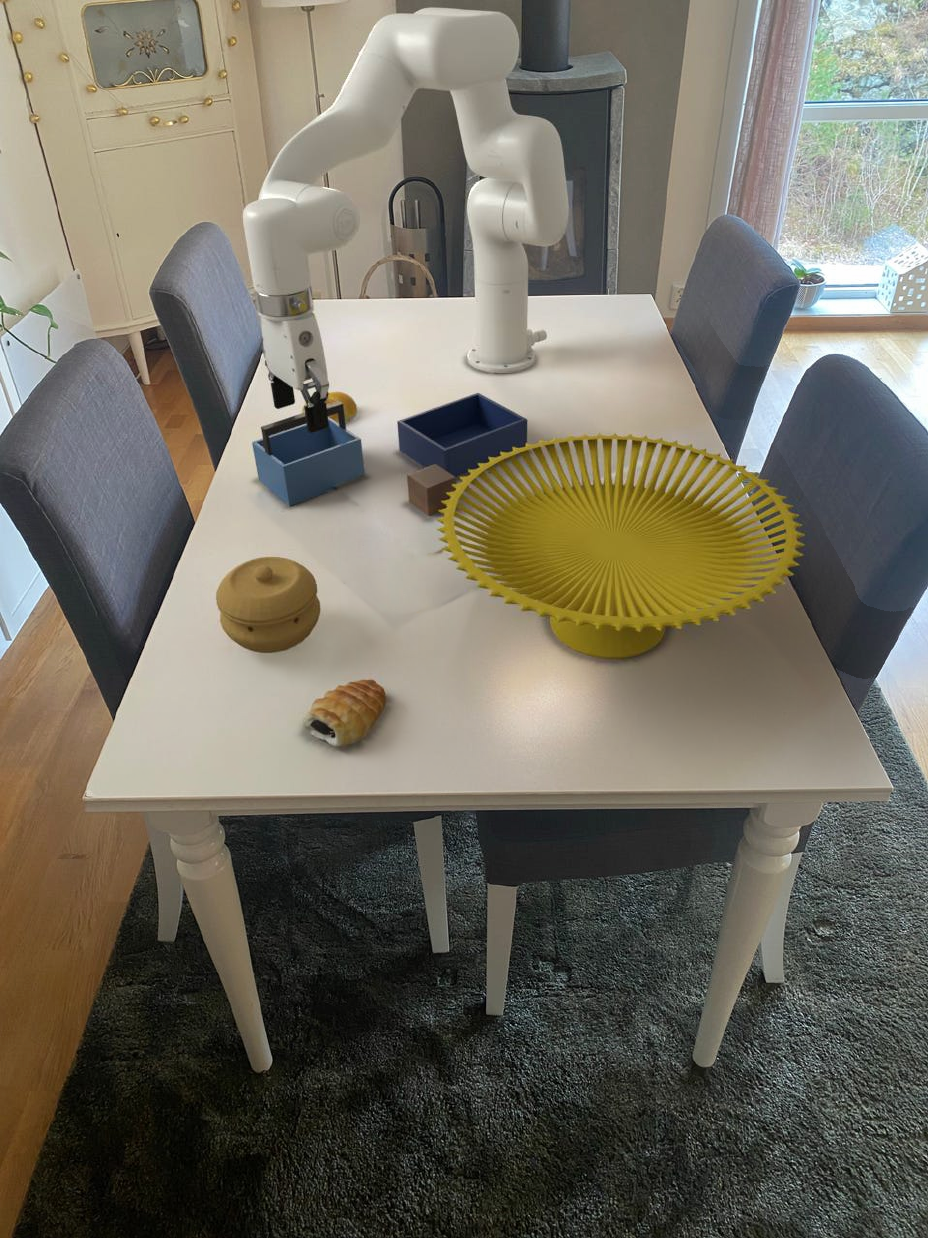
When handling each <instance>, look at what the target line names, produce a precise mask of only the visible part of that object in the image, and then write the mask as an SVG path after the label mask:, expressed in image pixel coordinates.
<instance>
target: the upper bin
mask: <svg viewBox="0 0 928 1238" xmlns="http://www.w3.org/2000/svg"><path fill="white" fill-rule="evenodd" d="M326 406H327V414H328V416H330V415H333V414H336V413H338V419H339V424H338V423H337V422H335V421H334V420H332V419H331V418H329V417H328V422H329V426H328V427H327V428H325V429H322V430H319V431H316V432H313V433H310V432H308V430H307V424H306V417H305V412H304V413H302V412H301V413H299V414H295V415H293V416H289V417H286V418H283V419H281V420H278V421H274V422H272V423H268V424H265V425H262V426H260V431H261V436H262V438H260V439H257V440H254V441H252V442H251V444H252V451H253V457H254V461H255V466H256V472H257V477H258V481H259V482H261V484H263V485H264V486H265V487H266V488H267V489H268V490H270V491H271V492H272V493H273V494H274V495H276V496H277V497H278V498H279V499H280V500H282V501H283V502H284V503H285V504H286V505H288V506H289V507H291V506H294V505H296V504H299V503H301V502H304V501H307V500H310V499H312V498H315V497H317V496H320V495H323V494H326V493H327V492H330V491H332V490H336V489H338V487H337V486H338V485H341V484H344V483H346V482H348V481H351V480H354V479H356V478H359V477H361V476H362V477H363V476H364V475H365V473H366V472H365V463H364V455H363V445H362V439H361V437H359V436H358V435H356V434H355V433H353V432H352V431H350V430H348V429H347V425H346V424H347V423H346V421H345V415H344V406H343V403H341V402H340V401H338V402H335V403H332V404H329V405H326Z"/></svg>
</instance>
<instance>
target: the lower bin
mask: <svg viewBox="0 0 928 1238" xmlns="http://www.w3.org/2000/svg"><path fill="white" fill-rule="evenodd" d="M396 425H397V435H398V449H399V452H401V453H402V454H404V455H405V456H406V457H409V458H410V459H412V461H415V462H416V463H417V464H419V465H421V466H422V467H424V468H426V467H429V466H431V465H434V464H436V465H438V466H439V467H441V468H443V469H444V470H446V471H447V472H449V473H450V474H452V475H453V476H455V477H456V478H457V477H461V476H463V475H464V474H468V473H470V472H469V471H468V469H469V470H475V469H477V468H480V466H479V465H478V463H488V462H490V460H489V458H488V457H494V458H496V457H499V456H501V454H500V452H505V453H508V452H512V451H513V447H515V448H522V447H526V443H527V444H528V419H527V418H526V417H524V416H522V415H520V414H518V413H517V412H515V411H513V410H511V409H509V408H507V407H506V406H504V405H501V404H500V403H498V402H496V401H494V400H493V399H490V398H489V397H487V396H485V395H483V394H482V393H480V392H476V393H473V394H470V395H468V396H464V397H462V398H459V399H456V400H453V401H451V402H448V403H444V404H442V405H440V406H436V407H434V408H433V407H432V408H430V409H427V410H425V411H422V412H419V413H416V414H413V415H411V416H407V417H405V418H402V419H400V420H397V424H396Z"/></svg>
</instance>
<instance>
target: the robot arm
mask: <svg viewBox="0 0 928 1238" xmlns="http://www.w3.org/2000/svg"><path fill="white" fill-rule="evenodd" d="M519 36H520V35H519V32H518V29H517V27H516V25H515V23H514V22H513V20H512V19H511V18H510V17H509V16H508V15H507V14H505V13H503V12H501V11H491V10H475V9H461V8H453V7H451V8H450V7H425V8H421V9H419V10H417V11H415V12H413V13H405V12H404V13H403V12H401V13H399V12H397V13H390V14H387V15H384V16H382V18H380V19H379V20H378V21H377V22H376V23H375V24H374V26H373V27H372V29H371V31H370V33H369V35H368V37H367V39H366V41H365V43H364V45H363V47H362V48H361V51H360V52H359V55H358V57H357V59H356V61H355V63H354V65H353V67H352V69H351V71H350V73H349V75H348V77H347V79H346V80H345V82H344V84H343V86H342V88H341V90H340V92H339V95H338V96H337V98H336V100H335V102H334V103H333V105H331V107H329V108H328V109H327V110H325V111H324V112H322V113H321V114H319V115H318V116H317V117H315V118H314V119H312V120H311V121H310V122H309V123H308V124H306V125H305V126H304V127H303V128H302V129H301V130H299V131H298V132H297V133H295V134H294V135H293V136H292V137H291V138H290V139H289V140H288V141H287V142H286V143H285V144H284V145H283V147H282V148H281V149H280V151H279V153H278V154H277V155H276V157H275V159H274V161H273V163H272V165H271V167H270V169H269V171H268V173H267V175H266V177H265V179H264V181H263V183H262V186H261V188H260V191H259V194H258V198H257V199H258V200H254V201H252V202H250V203H248V204H247V205H246V206H245V207H244V208H243V211H242V225H243V230H244V236H245V241H246V249H247V255H248V262H249V265H250V266H249V267H250V273H251V274H250V275H251V279H252V285H253V292H254V298H255V305H256V309H257V315H258V317H260V328H261V338H262V344H261V345H260V349H261V351H262V354H263V357H264V366H265V367H266V368H267V371H268V374H267V377H268V380H269V382H270V387H271V395H272V400H273V407H274V408H275V409H277V410H280V409H284V408H287V407H288V406H293V405H295V404H296V398H295V391H294V390H297V391H300V393H301V396H302V398H303V400H304V402H305V403H306V404H307V405H306V406H304V405H303V406H304V410H305V417H306V424H307V430H308V432H310V433H313V432H316V431H319V430H322V429H325V428H327V427H328V426H329V422H328V414H327V406H326V403H327V401H328V400H327V398H328V394H329V393H330V392H329V388H330V382H329V380H328V379H329V377H328V369H327V362H326V356H325V351H324V345H323V340H322V336H321V332H320V328H319V324H318V321H317V318H316V313H314V311H315V306H314V305H315V304H314V298H313V297H314V296H313V291H312V280H311V273H310V266H309V256H310V255H313V254H315V255H316V254H319V253H321V254H322V253H326V252H327V253H328V252H333V251H337V250H340V249H342V248H344V247H346V246H347V245H349V244H350V243H351V242H352V241H353V240H354V238H355V237H356V235H357V233H358V231H359V228H360V221H361V218H360V210H359V208H358V206H357V204H356V202H355V201H354V199H352V197H350V196H349V195H348V194H347V193H344V192H343V191H341V190H338V189H334V188H329V187H326V186H325V187H324V186H318V185H316V184H317V182H319V180H320V179H321V178H322V177H323V176H325V175H326V174H327V173H328V172H330V171H332V170H333V169H334V168H337V167H339V166H340V165H343V164H346V163H348V162H351V161H354V160H358V159H360V158H363V157H366V156H368V155H369V156H370V154H373V153H376V152H378V151H380V150H382V149H384V148H385V147H386V146H388V145H389V143H390V142H391V140H392V139H393V136H394V134H395V132H396V130H397V128H398V127H399V124H400V122H401V120H402V118H403V116H404V114H405V112H406V110H407V108H408V106H409V104H410V102H411V100H412V99H413V97H414V94H415V92H416V91H417V90H419V89H428V90H438V91H448V92H450V95H451V97H452V100H453V105H454V109H455V114H456V118H457V123H458V124H457V125H458V128H459V133H460V138H461V143H462V148H463V153H464V156H465V160H466V163H467V166H468V169H470V171H471V172H472V173H473V174H476V175H478V176H480V177H483V178H482V179H480V180H479V181H477V182H476V183H475V184H474V185H473V186H472V187H471V189H470V191H469V194H468V197H467V202H466V212H467V220H468V226H469V231H470V235H471V241H472V248H473V249H472V250H473V269H474V270H473V271H474V272H473V273H474V274H473V275H474V277H473V279H474V281H473V282H474V336H475V337H474V339H475V341H474V342H475V346H474V347H472V348H470V350H469V351H468V352H467V356H466V357H467V363H468V364H469V365H470V366H471V367H472V368H474V369H475V370H478V371H481V372H485V373H490V374H491V373H493V374H509V373H511V374H512V373H516V372H520V371H524V370H525V369H528V368H530V367H531V366H532V365H533V364H534V363H535V361H536V352H535V351H534V349H533V348H532V347H533V346H534V345H535V343H540V342H543V341H546V340H547V338H548V334H547V332H546V330H545V329H540V330H536V331H535V332H533V330H532V329H531V328H528V315H529V314H528V311H529V310H528V309H529V307H528V305H529V261H528V255H527V252H526V250H525V248H524V245H529V246H536V247H545V248H546V247H552V246H554V245H556V244H557V243H559V242H560V241H561V240H562V239H563V237H564V235H565V233H566V231H567V228H568V224H569V217H570V208H569V206H570V205H569V195H568V186H567V177H566V169H565V168H566V167H565V160H564V151H563V145H562V140H561V137H560V134H559V132H558V130H557V128H556V127H555V125H554V124H553V123H552V122H551V121H549V120H547V119H546V118H543V117H540V116H534V115H528V114H527V115H525V114H518V113H517V112H516V111H515V110H514V109H513V106H512V103H511V99H510V94H509V89H508V84H507V79H506V78H507V77H508V76H509V75H510V74H511V73H512V72H513V70H514V68H515V66H516V64H517V62H518V59H519V52H520V37H519ZM523 244H524V245H523ZM310 380H312V381H310ZM307 381H310V382H307ZM304 382H306V383H304ZM311 389H315V391H314V392H313V393H312V395H311V394H310V392H309V390H311Z"/></svg>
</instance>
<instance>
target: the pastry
mask: <svg viewBox="0 0 928 1238" xmlns="http://www.w3.org/2000/svg"><path fill="white" fill-rule="evenodd" d="M386 701H387V695H386V691H385V689H384V687H383V686H382V685H380V684H378V683H377V681H376V680H374V679H372V678H370V679H360V680H356V681H349V682H348V683H347V684H345V685H342V684H341V685H337V686H336V688H335V689H334V690H327V691H326V692H325V693H324V696H323V697H320V698H316V699H315V700H314V701H313V703H312V704H311V707H310V710H309V711H307V713H306V715H305V717H303V720H302V723H303V726H304V728H306V729H307V730H308V732H309V734H310V735H312V736H313V737H315V739H319V740H323V741H326V742H327V743H328V744H329V745H331V746H333V747H336V748H339V747H345V746H347V747H348V746H352V745H354V744H356V743H359V742H360V741H361V740H362V739H363V738H364V737H365V736H368V734H369V732H370V731H371V730H372V729H373V727H374V726H375V724H376V723H377V721H378V720H379V719H380V716H381V715H382V713H383V712H384V710H385V708H386Z"/></svg>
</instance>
